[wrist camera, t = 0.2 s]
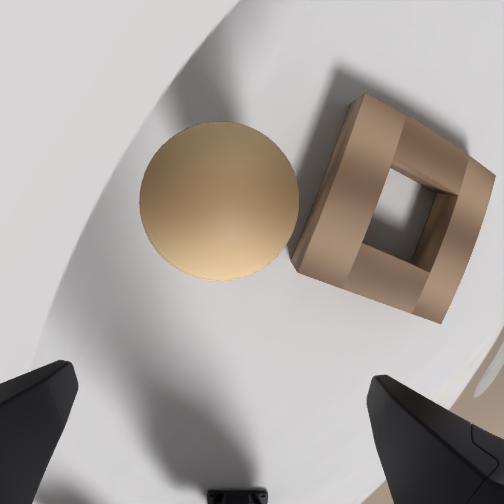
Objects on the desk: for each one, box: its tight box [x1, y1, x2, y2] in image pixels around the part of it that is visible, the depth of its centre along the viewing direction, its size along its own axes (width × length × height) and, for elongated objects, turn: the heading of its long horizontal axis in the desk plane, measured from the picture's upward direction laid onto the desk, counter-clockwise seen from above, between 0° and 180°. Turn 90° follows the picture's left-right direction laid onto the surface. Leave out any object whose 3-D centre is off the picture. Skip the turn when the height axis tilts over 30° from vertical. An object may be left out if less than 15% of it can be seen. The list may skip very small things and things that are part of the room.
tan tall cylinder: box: [139, 121, 299, 281], centre depth 15 cm, size 4×4×13 cm
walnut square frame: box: [291, 93, 496, 324], centre depth 20 cm, size 12×12×3 cm
